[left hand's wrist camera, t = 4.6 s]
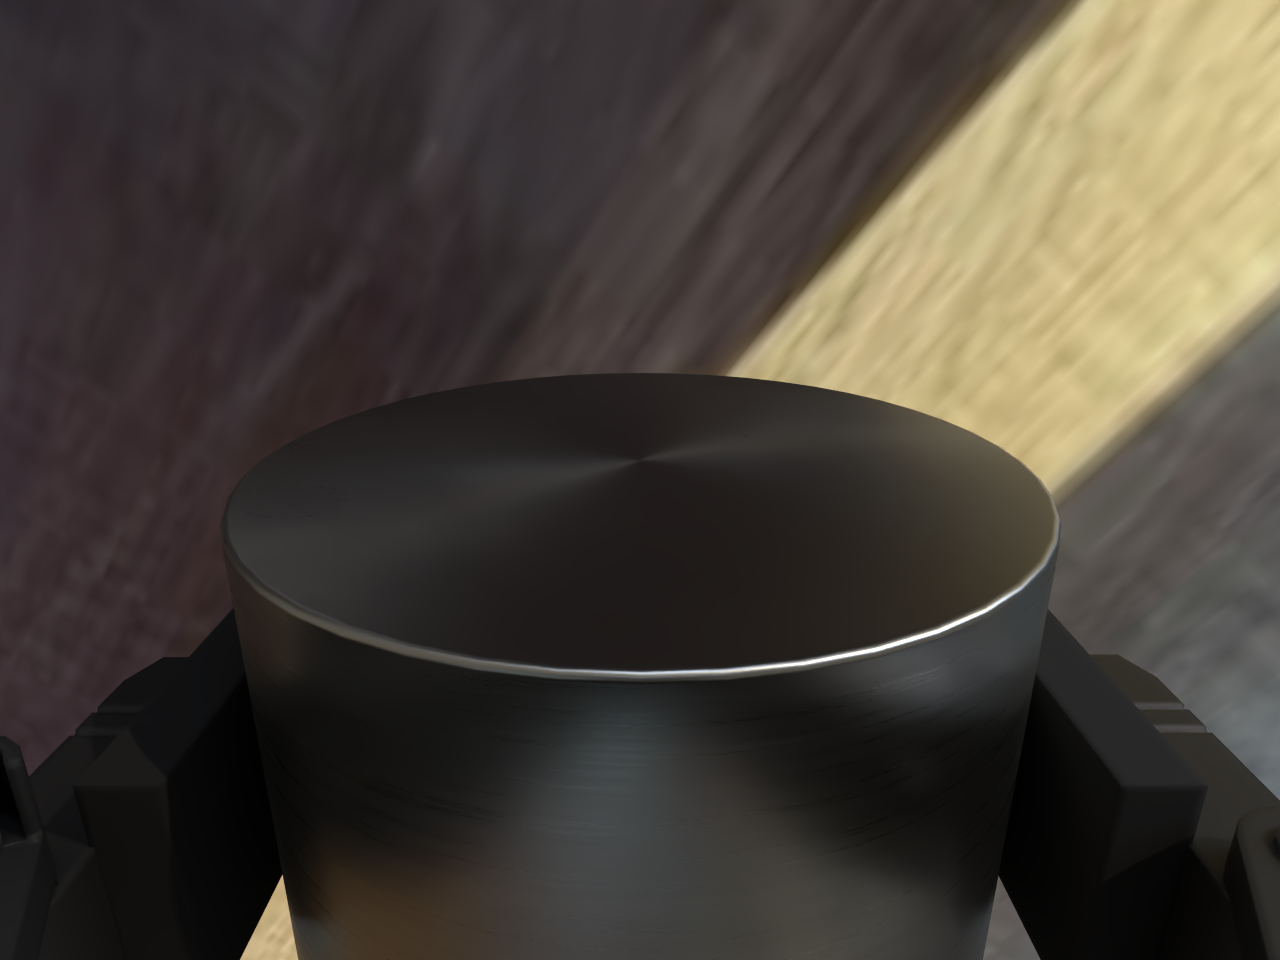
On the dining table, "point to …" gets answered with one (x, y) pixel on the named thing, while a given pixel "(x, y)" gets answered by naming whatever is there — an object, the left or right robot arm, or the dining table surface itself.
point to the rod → (640, 671)
